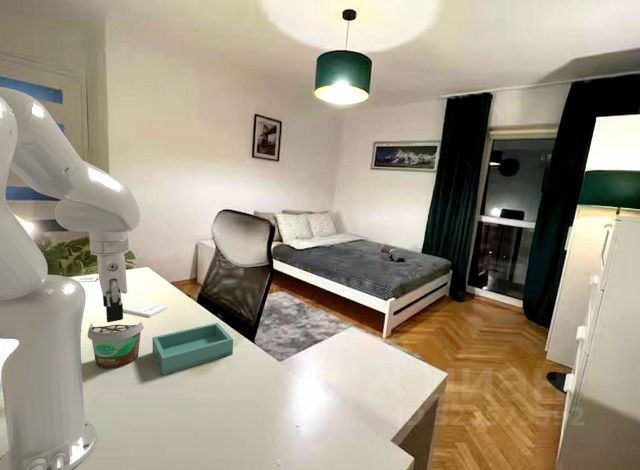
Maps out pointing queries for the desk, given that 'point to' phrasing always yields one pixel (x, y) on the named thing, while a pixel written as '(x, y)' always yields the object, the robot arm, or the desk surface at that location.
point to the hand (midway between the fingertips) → (113, 312)
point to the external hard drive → (144, 309)
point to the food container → (115, 344)
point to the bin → (191, 347)
